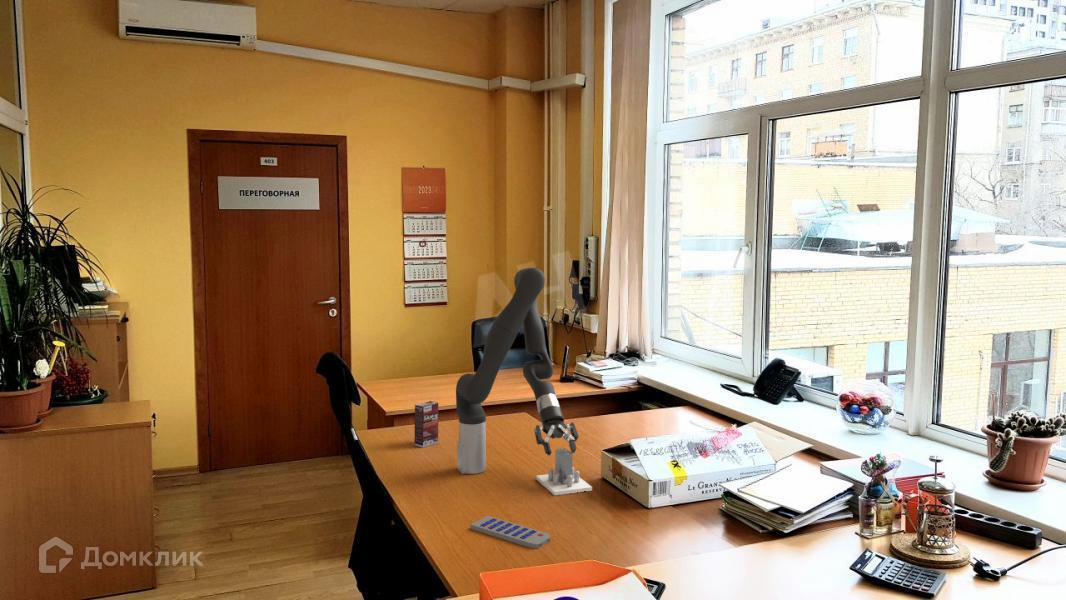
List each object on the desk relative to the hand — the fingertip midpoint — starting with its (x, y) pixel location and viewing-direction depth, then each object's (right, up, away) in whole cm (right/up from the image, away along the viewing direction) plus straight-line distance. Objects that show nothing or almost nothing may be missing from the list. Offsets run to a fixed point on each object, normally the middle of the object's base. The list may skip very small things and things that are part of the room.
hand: (561, 453), depth 254 cm
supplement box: (-50, -5, +43) cm, 66 cm away
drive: (+1, -9, 0) cm, 9 cm away
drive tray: (+1, -10, 0) cm, 10 cm away
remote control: (-16, -15, -39) cm, 45 cm away
